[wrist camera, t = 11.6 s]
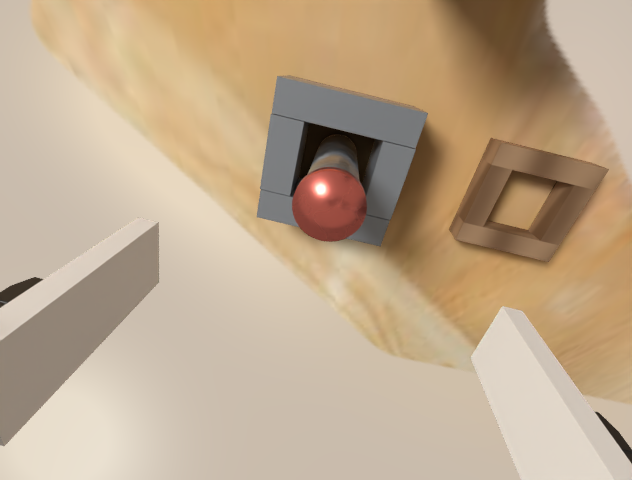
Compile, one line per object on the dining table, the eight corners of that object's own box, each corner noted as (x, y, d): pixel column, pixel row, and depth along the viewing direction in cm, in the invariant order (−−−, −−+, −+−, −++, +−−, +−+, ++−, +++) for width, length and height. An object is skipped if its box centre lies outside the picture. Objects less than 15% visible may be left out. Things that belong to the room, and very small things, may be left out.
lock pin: (365, 137, 32) (376, 181, 19) (352, 181, 34) (355, 248, 21) (320, 126, 32) (299, 162, 19) (310, 170, 34) (286, 232, 21)
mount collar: (590, 162, 32) (609, 169, 29) (536, 250, 36) (548, 261, 34) (491, 138, 31) (501, 143, 29) (449, 229, 36) (455, 239, 34)
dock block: (414, 106, 31) (428, 113, 25) (376, 221, 36) (380, 246, 31) (289, 75, 30) (276, 75, 25) (269, 195, 36) (256, 216, 31)
